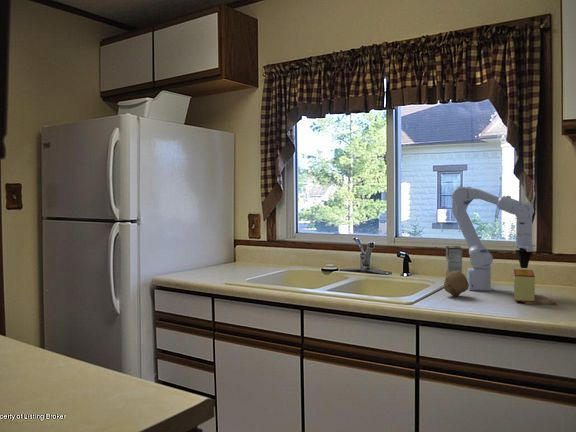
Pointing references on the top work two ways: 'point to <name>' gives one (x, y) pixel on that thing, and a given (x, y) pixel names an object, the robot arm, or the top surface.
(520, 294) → the baking soda box
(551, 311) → the top surface
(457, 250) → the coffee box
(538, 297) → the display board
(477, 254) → the robot arm
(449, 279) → the natural sponge
